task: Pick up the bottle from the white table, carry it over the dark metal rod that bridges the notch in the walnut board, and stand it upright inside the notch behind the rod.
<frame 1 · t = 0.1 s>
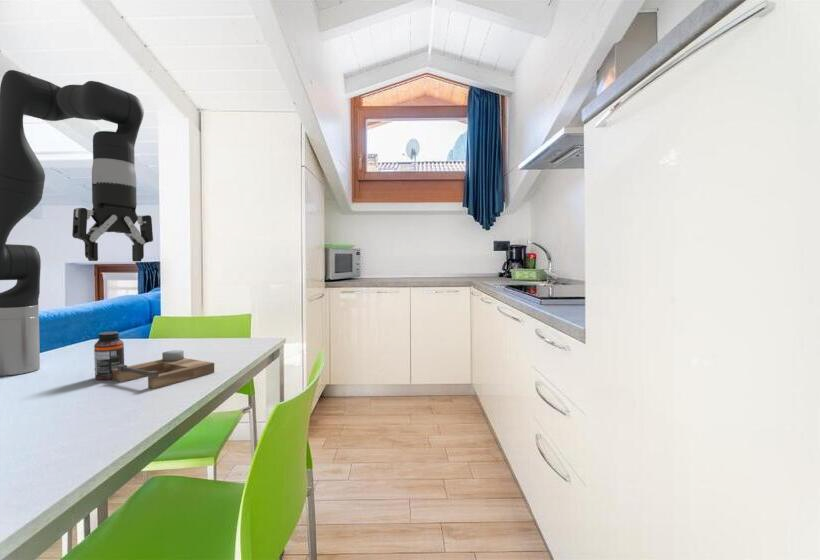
hand: (115, 261, 84), 29 cm above the table, tool pointing down, fingers open, 8 cm apart
notched board: (165, 375, 102), on the table
supplement bottle: (110, 378, 100), on the table
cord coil: (173, 359, 109), point 3 cm above the table, touching notched board
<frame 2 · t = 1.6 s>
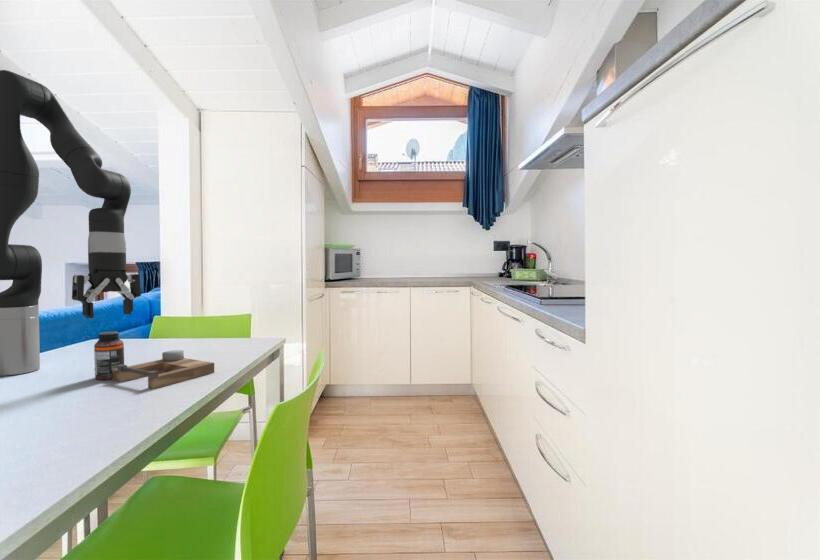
hand: (109, 316, 99), 15 cm above the table, tool pointing down, fingers open, 8 cm apart
nothing on the table moved.
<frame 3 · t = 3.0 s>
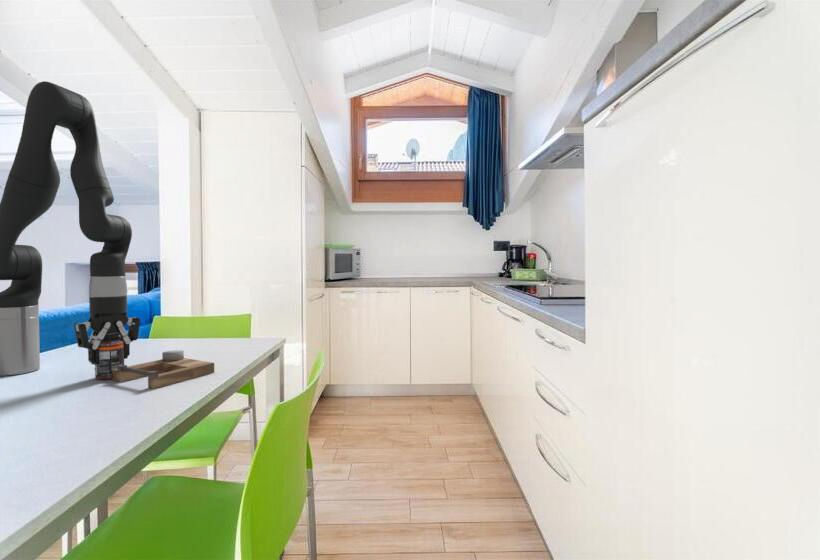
hand: (109, 360, 100), 4 cm above the table, tool pointing down, fingers closed on supplement bottle, 6 cm apart
supplement bottle: (110, 377, 100), on the table, touching gripper
everything else where it was.
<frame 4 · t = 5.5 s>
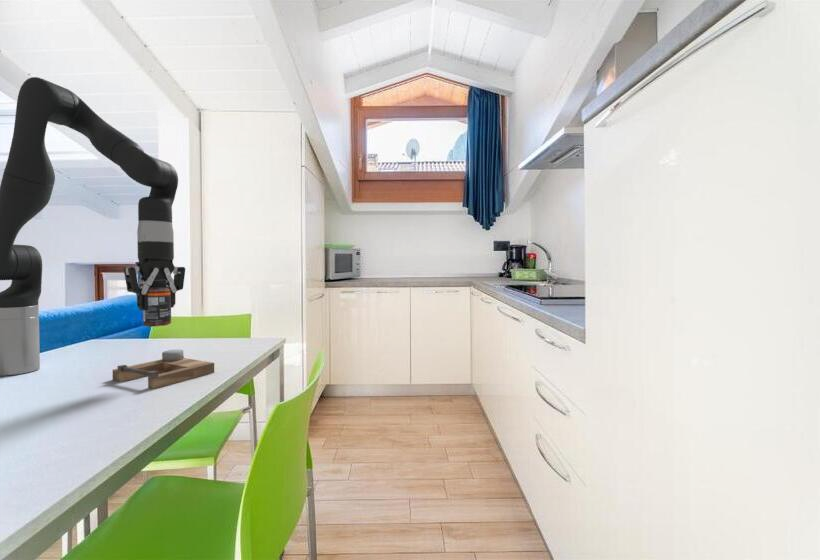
hand: (156, 308, 98), 18 cm above the table, tool pointing down, fingers closed on supplement bottle, 6 cm apart
supplement bottle: (157, 325, 99), point 13 cm above the table, touching gripper
everything else where it was.
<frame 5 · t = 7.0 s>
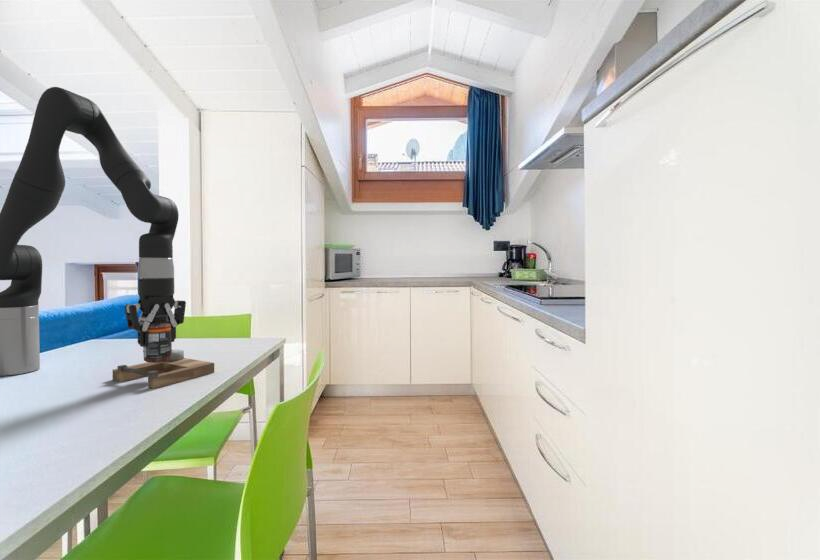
hand: (157, 343, 99), 9 cm above the table, tool pointing down, fingers closed on supplement bottle, 6 cm apart
supplement bottle: (157, 361, 99), point 4 cm above the table, touching gripper
everything else where it was.
when the fingers open (5 cm above the table, at t = 8.2 s): supplement bottle drops 1 cm, on the table.
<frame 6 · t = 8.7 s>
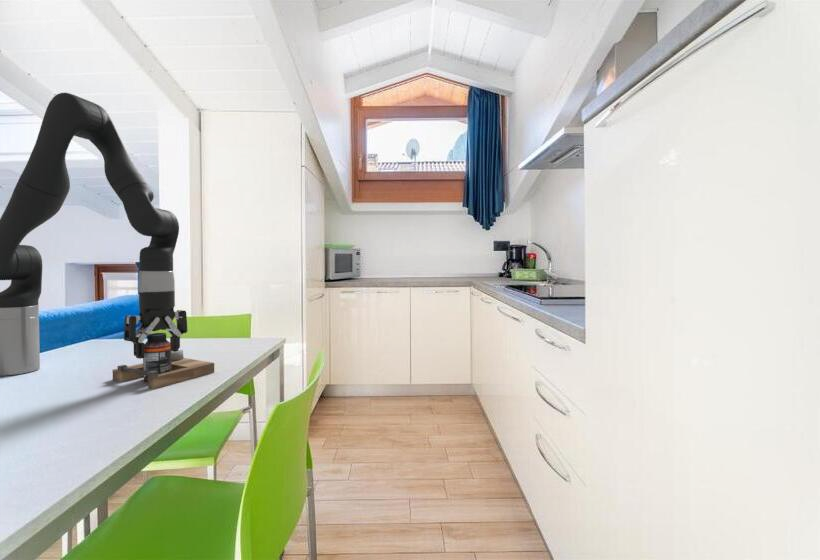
hand: (157, 354, 99), 6 cm above the table, tool pointing down, fingers open, 8 cm apart
supplement bottle: (157, 379, 99), on the table
everything else where it was.
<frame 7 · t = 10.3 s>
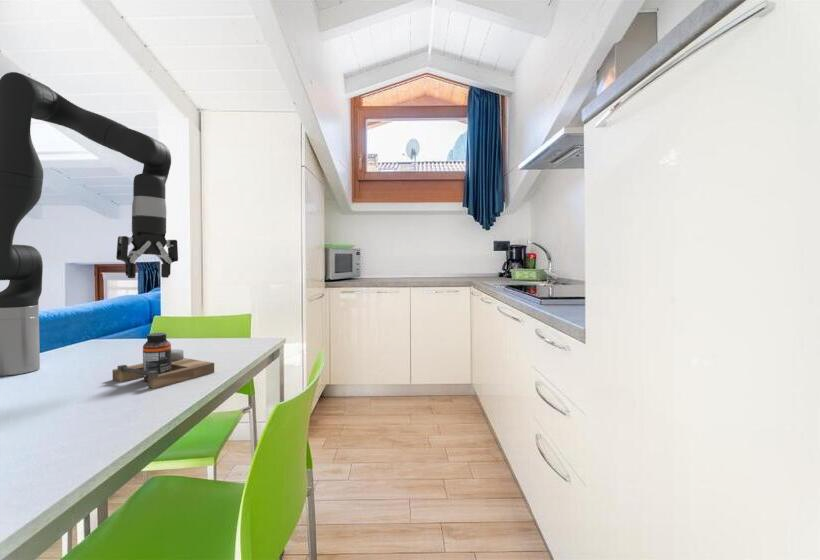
hand: (148, 277, 104), 25 cm above the table, tool pointing down, fingers open, 8 cm apart
nothing on the table moved.
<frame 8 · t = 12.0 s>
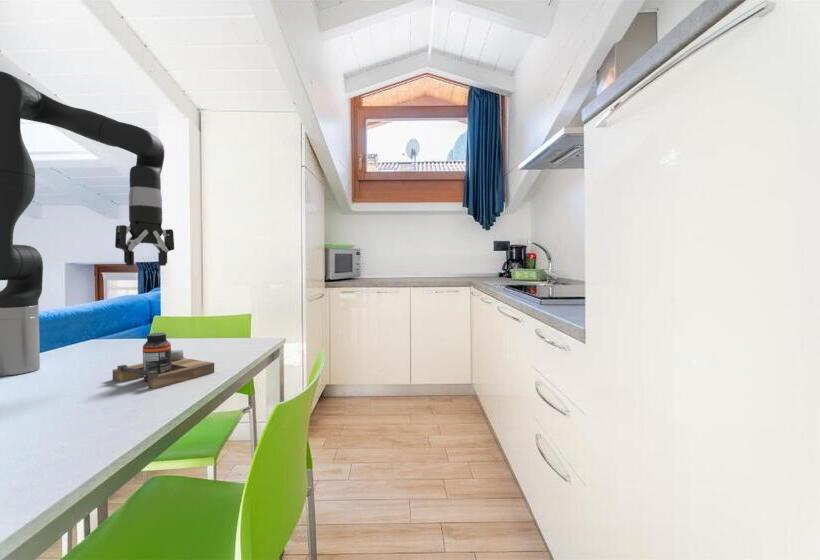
hand: (146, 265, 109), 28 cm above the table, tool pointing down, fingers open, 8 cm apart
nothing on the table moved.
at the end: supplement bottle inside the target area (0.1 cm from its centre), on the table; supplement bottle tilted 0°; the gripper is holding nothing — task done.
